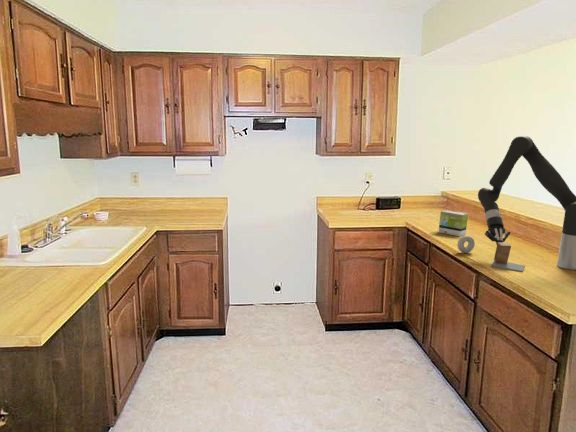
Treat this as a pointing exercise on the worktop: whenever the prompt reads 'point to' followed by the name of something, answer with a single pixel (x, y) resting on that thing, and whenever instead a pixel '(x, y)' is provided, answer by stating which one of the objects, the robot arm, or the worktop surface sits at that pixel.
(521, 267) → the rubber mat
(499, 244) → the walnut block
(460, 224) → the tea box
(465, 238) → the donut
